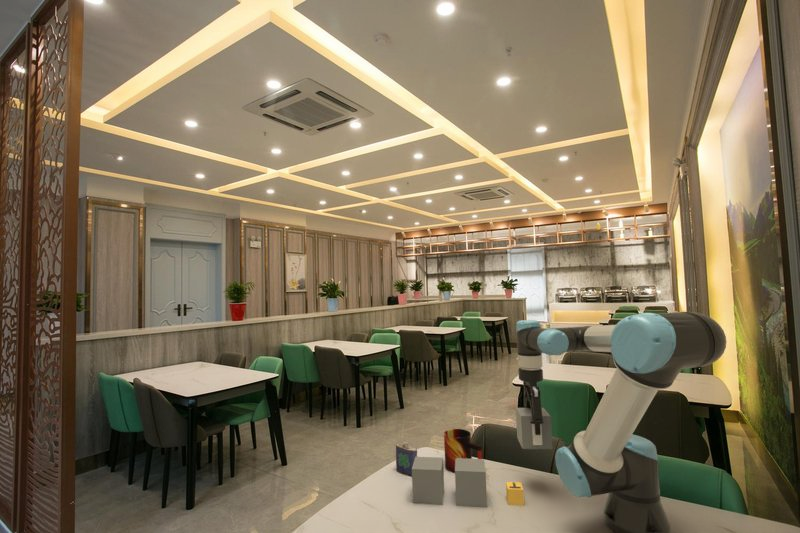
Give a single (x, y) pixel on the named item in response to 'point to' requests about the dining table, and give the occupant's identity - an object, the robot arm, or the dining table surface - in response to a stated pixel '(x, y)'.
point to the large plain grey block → (428, 480)
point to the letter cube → (515, 493)
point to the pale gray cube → (470, 482)
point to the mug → (458, 447)
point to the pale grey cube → (526, 429)
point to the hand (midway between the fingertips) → (534, 438)
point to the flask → (405, 458)
